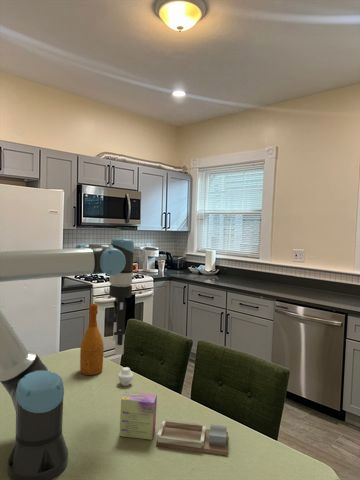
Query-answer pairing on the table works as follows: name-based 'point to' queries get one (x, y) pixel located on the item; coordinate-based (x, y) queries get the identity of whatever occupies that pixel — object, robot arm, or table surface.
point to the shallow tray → (193, 437)
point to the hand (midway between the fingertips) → (117, 347)
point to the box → (138, 415)
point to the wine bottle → (92, 346)
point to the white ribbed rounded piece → (125, 376)
